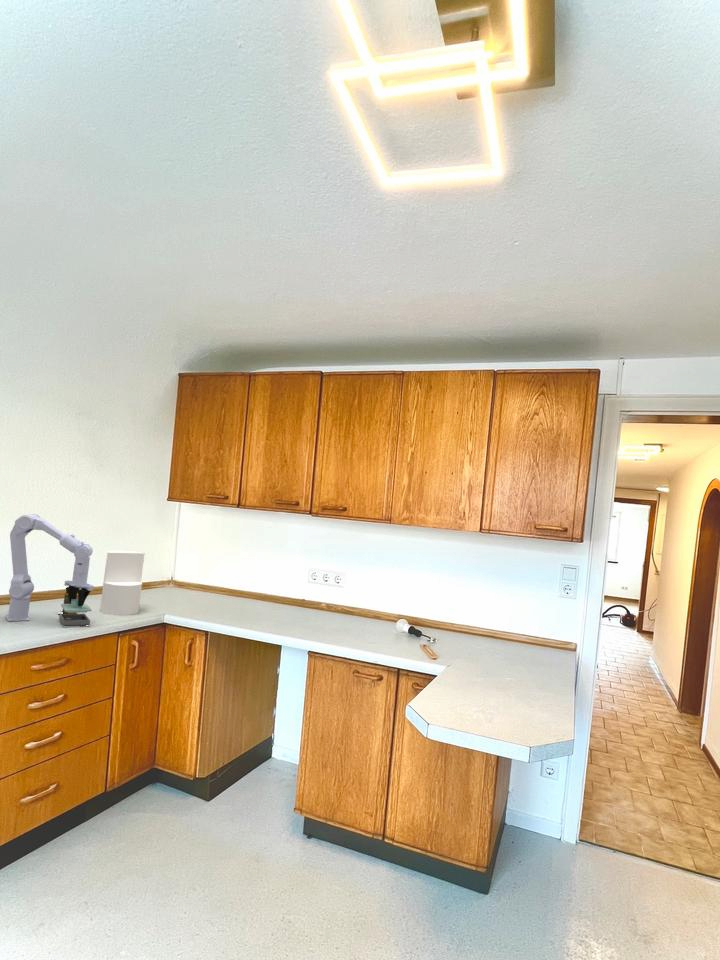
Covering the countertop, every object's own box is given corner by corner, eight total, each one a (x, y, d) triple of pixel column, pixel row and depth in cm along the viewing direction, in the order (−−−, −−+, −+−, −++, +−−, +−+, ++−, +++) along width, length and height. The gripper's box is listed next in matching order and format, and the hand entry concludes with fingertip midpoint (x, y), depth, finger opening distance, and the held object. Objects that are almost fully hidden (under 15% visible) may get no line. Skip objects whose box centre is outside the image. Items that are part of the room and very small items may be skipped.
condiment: (79, 614, 254) (83, 588, 254) (59, 616, 248) (63, 589, 248) (74, 611, 259) (78, 585, 260) (54, 612, 253) (58, 585, 254)
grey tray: (58, 620, 241) (59, 614, 241) (84, 619, 247) (85, 613, 247) (63, 627, 231) (63, 621, 231) (89, 626, 237) (90, 620, 237)
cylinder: (94, 607, 270) (102, 550, 271) (130, 606, 282) (137, 550, 283) (107, 616, 257) (115, 555, 258) (144, 614, 269) (151, 555, 270)
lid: (60, 607, 241) (61, 596, 241) (85, 606, 247) (87, 596, 247) (64, 613, 231) (66, 602, 231) (91, 612, 237) (92, 602, 237)
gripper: (60, 571, 239) (55, 603, 238) (85, 576, 233) (81, 609, 233) (73, 570, 245) (69, 601, 245) (99, 575, 240) (94, 606, 239)
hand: (76, 604), depth 239 cm, fingers closed on lid, 4 cm apart
